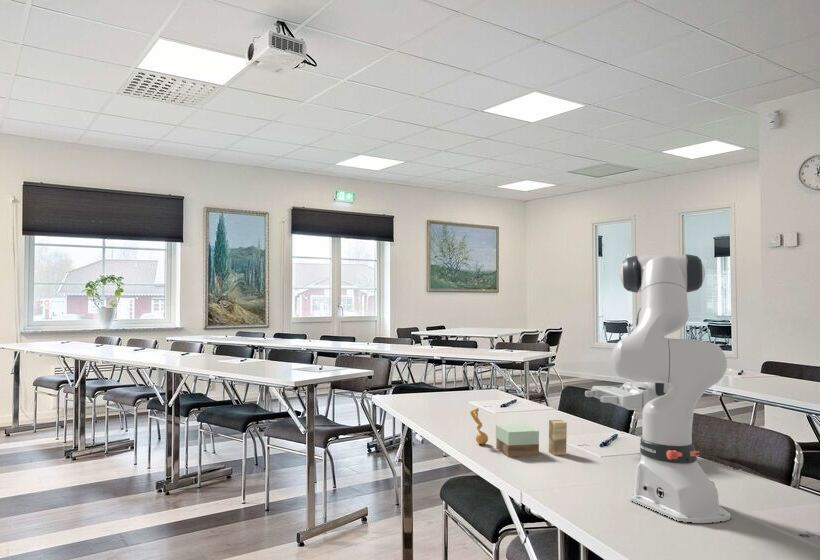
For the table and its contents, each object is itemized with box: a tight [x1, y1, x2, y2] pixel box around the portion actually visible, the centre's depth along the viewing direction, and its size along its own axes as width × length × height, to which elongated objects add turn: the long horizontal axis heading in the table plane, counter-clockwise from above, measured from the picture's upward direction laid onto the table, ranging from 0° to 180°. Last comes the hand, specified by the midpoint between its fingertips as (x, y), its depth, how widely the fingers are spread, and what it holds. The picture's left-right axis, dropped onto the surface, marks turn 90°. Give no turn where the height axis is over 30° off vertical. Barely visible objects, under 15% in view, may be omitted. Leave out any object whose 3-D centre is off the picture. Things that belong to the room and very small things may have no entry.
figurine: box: [469, 407, 489, 446], centre depth 195 cm, size 8×6×12 cm
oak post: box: [548, 419, 568, 456], centre depth 186 cm, size 4×4×10 cm
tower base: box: [495, 437, 540, 458], centre depth 186 cm, size 10×10×4 cm
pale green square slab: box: [495, 423, 540, 445], centre depth 186 cm, size 10×10×4 cm
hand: (593, 396), depth 189 cm, fingers open, 8 cm apart
